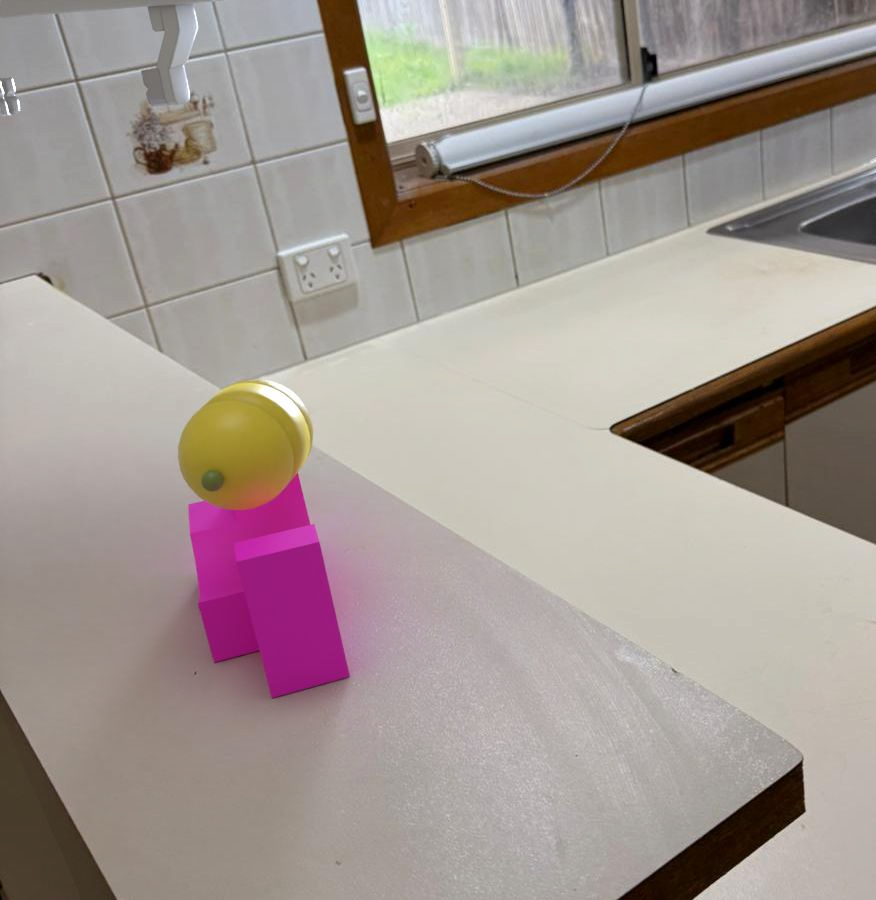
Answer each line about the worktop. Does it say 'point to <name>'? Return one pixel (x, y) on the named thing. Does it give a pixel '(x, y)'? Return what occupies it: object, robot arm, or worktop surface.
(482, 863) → the worktop surface
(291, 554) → the toy block
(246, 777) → the worktop surface
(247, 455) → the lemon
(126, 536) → the worktop surface
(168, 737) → the worktop surface
